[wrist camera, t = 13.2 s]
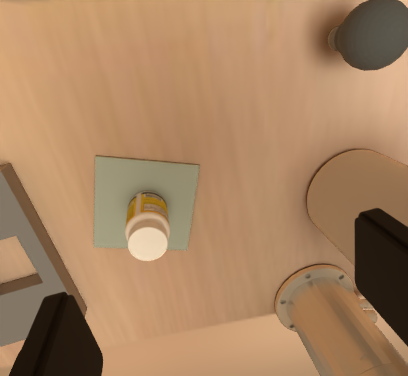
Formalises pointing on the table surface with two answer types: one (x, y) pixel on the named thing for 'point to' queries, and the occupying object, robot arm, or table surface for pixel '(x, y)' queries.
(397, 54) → the light bulb
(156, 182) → the rubber mat
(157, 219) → the supplement bottle
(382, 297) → the robot arm
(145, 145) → the table surface
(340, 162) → the cylinder vase
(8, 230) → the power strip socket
